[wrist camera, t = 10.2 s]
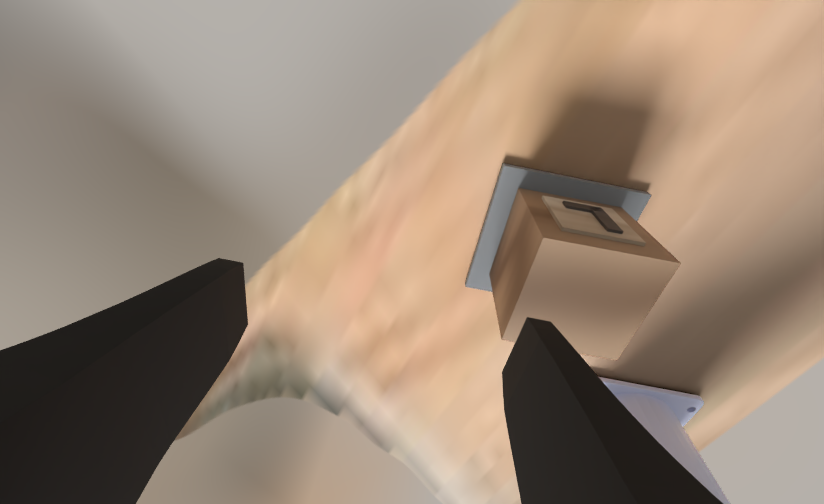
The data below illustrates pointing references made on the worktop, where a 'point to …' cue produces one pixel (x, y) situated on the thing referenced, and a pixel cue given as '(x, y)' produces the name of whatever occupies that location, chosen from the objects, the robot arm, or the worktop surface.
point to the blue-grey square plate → (545, 183)
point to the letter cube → (577, 271)
